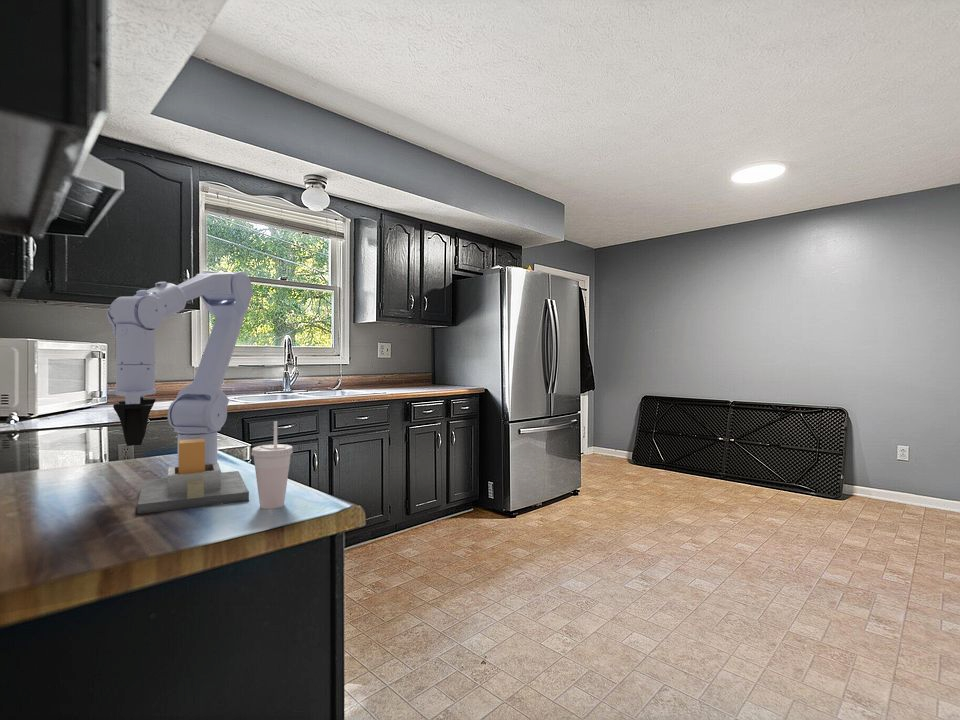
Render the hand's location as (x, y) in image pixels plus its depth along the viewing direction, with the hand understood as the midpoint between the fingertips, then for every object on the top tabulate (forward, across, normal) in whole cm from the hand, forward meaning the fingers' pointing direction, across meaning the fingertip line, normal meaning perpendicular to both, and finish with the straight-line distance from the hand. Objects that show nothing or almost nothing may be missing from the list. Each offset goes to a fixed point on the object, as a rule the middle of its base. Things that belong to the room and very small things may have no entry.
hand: (135, 441), depth 93 cm
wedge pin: (+8, +4, +9) cm, 12 cm away
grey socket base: (+9, +4, +9) cm, 14 cm away
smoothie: (+10, +18, +20) cm, 29 cm away
